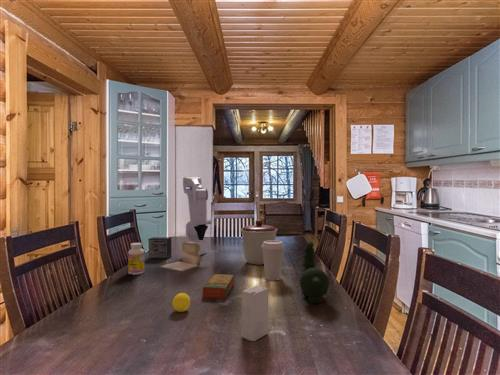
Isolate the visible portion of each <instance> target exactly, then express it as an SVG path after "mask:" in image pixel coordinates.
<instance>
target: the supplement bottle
mask: <svg viewBox="0 0 500 375" xmlns="http://www.w3.org/2000/svg"><path fill="white" fill-rule="evenodd" d="M142 247H143V244H142V242H132V243H130V249H129V250H128V252H127V259H128V260H127V261H128V262H127V264H128V265H127V266H128V267H127V268H128V270H127V272H128V275H131V274H132V275H133V276H137V275H141V274H144V273H145V249H143V248H142Z"/></svg>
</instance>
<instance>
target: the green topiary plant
mask: <svg viewBox="0 0 500 375" xmlns="http://www.w3.org/2000/svg"><path fill="white" fill-rule="evenodd" d="M305 245H306V247H304V249H303V251H304V254H303V255H302V258H303V259H304V261H303V263H302V267H304V268H303V271H302V274H301V276H300V279H299V286H300V288H301V295H303V296H305V297H307V300H308V302H309V303H310V302H311V303H310V304H313V303H317V304H320V303H321V302H322V299H323V298H322V296H324V295H326V294H327V293H328V290H329V287H330V280H329V277H328V275H327V274H326V273H325V271H323V270H322V269H320V268H318V267H316V262H315V258H316V256H315V254H314V252H315V250H314V248H313V247H314V243H313V242H312V241H307V243H306V244H305Z"/></svg>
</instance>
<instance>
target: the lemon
mask: <svg viewBox="0 0 500 375" xmlns="http://www.w3.org/2000/svg"><path fill="white" fill-rule="evenodd" d="M171 304H172V307H173V309H174V310H175V311H176V312H179V313H183V312H186V311H187V310H189V309H190V305H191V298H190V296H189V295H188V294H187V293H185V292H180V293H177V294H176V295H175V296H174V298H173V299H172V303H171Z"/></svg>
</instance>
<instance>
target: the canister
mask: <svg viewBox="0 0 500 375" xmlns="http://www.w3.org/2000/svg"><path fill="white" fill-rule="evenodd" d="M240 232H241V235H242V246H243V253H244V259H245V261H246V263H248V264H250V265H254V264H255V266H256V265H257V266H262V265H263V264H264V260H263V249H262V248H261V246H262V244H263V242H264V241H269V240H276V239H277V238H276V236H277V232H278V228H276V227H275V226H274V225H269V224H263V220H262V219H257V220H255V224H249V225H244V226H243V227H242V228H240ZM263 266H264V265H263Z"/></svg>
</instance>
